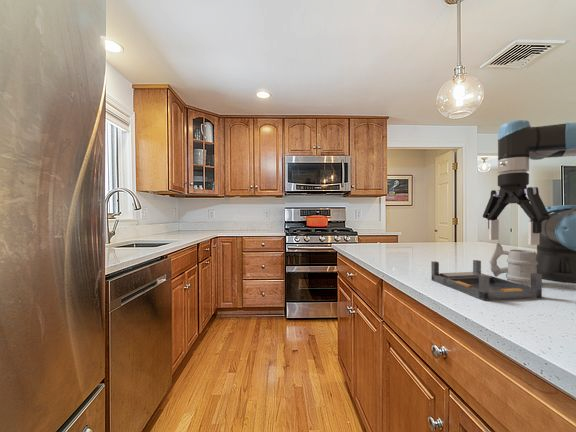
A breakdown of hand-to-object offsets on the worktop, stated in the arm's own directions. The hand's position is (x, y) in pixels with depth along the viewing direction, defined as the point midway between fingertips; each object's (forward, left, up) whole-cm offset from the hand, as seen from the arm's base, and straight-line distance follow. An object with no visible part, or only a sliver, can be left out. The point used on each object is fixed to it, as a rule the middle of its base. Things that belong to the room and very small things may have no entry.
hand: (512, 242), depth 86 cm
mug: (0, 0, -13) cm, 13 cm away
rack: (+15, +5, -12) cm, 20 cm away
